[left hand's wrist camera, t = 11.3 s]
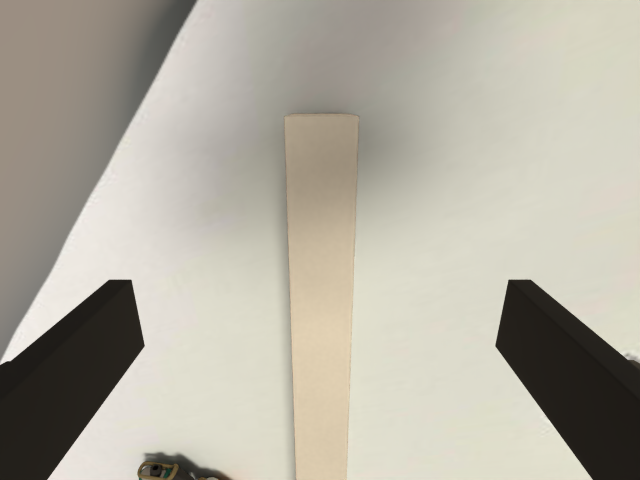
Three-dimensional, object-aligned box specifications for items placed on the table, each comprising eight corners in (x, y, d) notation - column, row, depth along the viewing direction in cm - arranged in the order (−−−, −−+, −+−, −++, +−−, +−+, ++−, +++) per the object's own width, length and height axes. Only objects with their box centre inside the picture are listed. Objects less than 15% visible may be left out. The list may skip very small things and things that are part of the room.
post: (292, 113, 32) (283, 116, 24) (349, 113, 32) (359, 116, 24) (304, 602, 57) (302, 679, 49) (336, 602, 57) (339, 679, 49)
